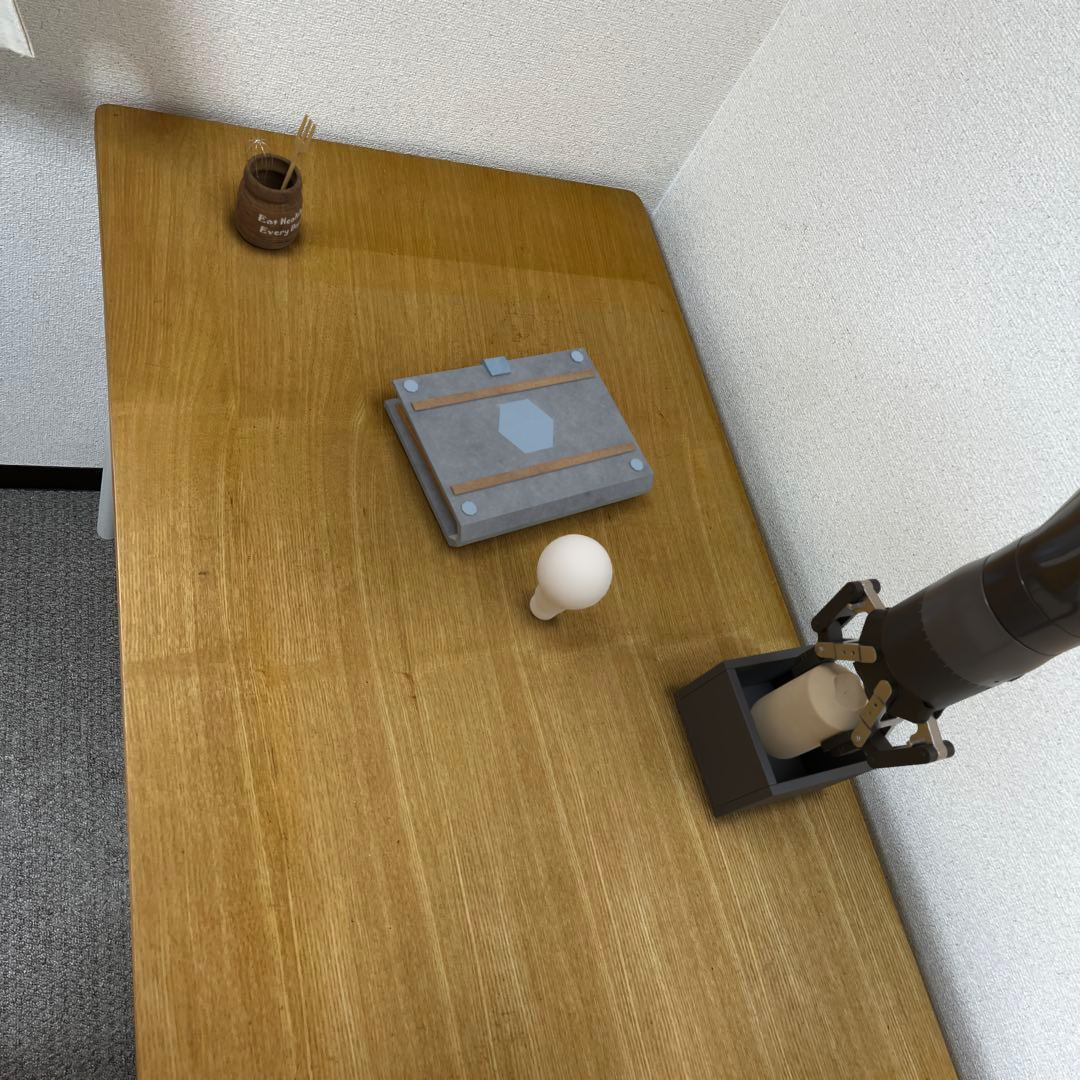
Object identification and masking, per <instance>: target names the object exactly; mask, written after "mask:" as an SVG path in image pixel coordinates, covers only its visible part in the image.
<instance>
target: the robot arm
mask: <svg viewBox="0 0 1080 1080" xmlns="http://www.w3.org/2000/svg"><path fill="white" fill-rule="evenodd" d="M881 589H882V585H881V582H880V581H879V579H877V578H867V579H859V580H852V581H847V582H846V583H845V584H844V585H843V586H842V587H841V588H840V589H839V590H838V591H837V592H836V593H835V594H834V595H833V596H832V598H831V599H830V600H829V601H828V602H827V603H826V604H825V605H824V606H823V607H822V608H821V609H820V610H819V611H818V612H817V613H816V615H814V616H813V617H812V618H811V620H810V628H811V630H812V631H813V632H814V633H815V634H816V635H817V641H816V643H815V646H814V647H812V648H810V649H809V650H807V651H805V652H804V653H802V654H800V655H799V656H797V657H796V659H795V661H794V662H795V664H796V666H794V667H793V668H791V671H792V673H793V676H794V677H799V676H800V675H802V674H804V673H806V672H807V671H809V670H811V669H813V668H814V667H816V666H818V665H820V664H822V663H827V662H832V663H833V662H835V663H836V662H837V661H844V662H845V661H847V662H852V663H851V664H852V667H853V668H854V670H855V674H856V675H858V677H859V678H860V681H861V683H862V684H863V686H864V691H865V694H866V696H867V699H868V703H867V705H866V706H865V708H864V709H863V711H862V712H861V714H860V715H859V717H860V718H861V720H860V722H859V723H858V725H857V726H856V728H855V729H853V730H848V731H846V732H844V733H841V734H839V735H837V736H835V737H832V738H830V739H828V740H826V741H824V742H821V743H820V744H821V747H822V749H823V752H826V751H830V752H831V754H832V756H835V757H838V756H842V755H846V754H850V753H853V752H855V751H858V750H860V749H862V750H864V751H865V752H866V754H867V756H866V761H867V763H868V765H869V766H870V767H871V768H872V769H874V770H878V769H889V768H899V767H910V766H911V767H912V766H919V765H920V766H921V765H928V764H931V763H936V762H938V761H939V762H940V761H942V760H943V761H944V760H946V759H949V758H953V757H954V756H955V753H956V748H955V746H954V744H953V743H952V742H951V741H950V740H949V739H943V737H942V733H941V731H940V727H939V724H938V721H937V720H938V719H939V718H940V717H941V716H942V714H943V712H944V711H945V710H946V709H947V708H949V707H950V706H953V705H955V704H958V703H959V702H962V701H965V700H967V699H969V698H971V697H974V696H977V695H978V694H981V693H983V692H986V691H988V690H990V689H993V688H995V687H998V686H1000V685H1002V684H1005V683H1009V682H1010V683H1012V682H1014V681H1016V680H1018V679H1021V678H1022V677H1023V676H1025V675H1026V674H1028V673H1030V672H1033V671H1034V670H1036V669H1038V668H1040V667H1041V666H1043V665H1045V664H1046V663H1048V662H1049V661H1051V660H1052V659H1054V658H1055V657H1057V656H1060V655H1062V654H1064V653H1065V652H1068V651H1071V650H1073V649H1076V648H1077V647H1080V487H1078V489H1076V491H1074V492H1073V493H1072V494H1071V495H1070V496H1069V497H1068V498H1067V499H1066V500H1065V502H1064V503H1062V505H1060V507H1058V509H1056V511H1055V512H1054V513H1052V514H1051V515H1050V516H1049V517H1048V519H1046V520H1045V521H1044V522H1043V523H1041V524H1040V525H1039V526H1037V527H1035V528H1033V529H1031V530H1029V531H1028V532H1026V533H1025V534H1023V535H1021V536H1019V537H1018V538H1016V539H1013V540H1012V541H1010V542H1009V543H1007V544H1005V545H1003V546H1002V547H1001V548H998V549H997V550H995V551H993V552H992V553H990V554H987V555H985V556H983V557H980V558H977V559H975V560H971V561H970V562H968V563H965V564H963V565H962V566H959V567H958V568H956V569H954V570H953V571H951V572H949V573H948V574H946V575H944V576H943V577H941V578H939V579H937V580H936V581H933V582H932V583H931V584H929V585H927V586H926V587H924V588H922V589H920V590H918V591H917V592H915V593H914V594H912V595H910V596H909V597H907V598H906V599H903V600H901V601H900V602H898V603H896V604H895V605H893V606H892V607H891V606H885V604H884V602H883V601H882V599H881V598H880V597H879V596H880V595H879V594H880V593H881ZM864 613H866V614H867V615H866V617H865V620H864V622H863V625H862V629H861V631H860V636H859V637H858V638H857V637H844V636H843V635H844V634H843V629H844V628H845V627H846V626H847V625H848V624H850V622H851V621H852V620H853V619H854V618H855V617H856V616H857V615H858V614H864ZM903 721H907V722H909V723H912V724H914V725H916V726H917V730H916V731H915V733H913V734H911V735H910V736H909V740H907V741H906V742H905V744H901V745H894V746H893V745H892V743H890V741H889V739H888V738H889V736H890V735H891V734H892V732H893V731H894V729H895V728H896V727H897V726H898V725H899V724H901V723H903Z"/></svg>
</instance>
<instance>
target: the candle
mask: <svg viewBox="0 0 1080 1080" xmlns="http://www.w3.org/2000/svg"><path fill="white" fill-rule="evenodd" d="M867 703H868V699H867V696H866V694H865V691H864V686H863V682H862V680H861V679H860V677H859V676H858V674H857V673H854V672H853V671H851V670H850V669H849V668H847V667H845V666H844V665H842V664H839V663H836V662H835V663H832V662H827V663H822V664H820V665H818V666H816V667H814V668H813V669H811V670H809V671H807V672H806V673H804V674H802V675H800V676H799V677H797V678H795V679H793V680H792V681H790V682H788V683H786V684H785V685H783V686H781V687H779V688H777V689H776V690H774V691H772V692H770V693H769V694H767V695H765V696H764V697H762V698H760V699H759V700H758V701H757V702H756V703H755V704H754V705H753V707H752V709H751V711H750V712H751V714H752V717H753V720H754V723H755V725H756V728H757V731H758V733H759V736H760V739H761V741H762V744H763V747H764V750H765V752H766V753H767V754H769V755H770V756H772V757H775V758H778V759H789V758H793V757H796V756H798V755H801V754H803V753H805V752H807V751H810V750H812V749H814V748H816V747H819V746H821V744H820V743H821V742H824V741H826V740H828V739H830V738H832V737H835V736H837V735H839V734H841V733H844V732H846V731H848V730H853V729H855V728H856V726H857V725H858V723H859V722H860V720H861V718H860V717H859V715H860V714H861V712H862V711H863V709H864V708H865V706H866V705H867Z"/></svg>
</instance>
